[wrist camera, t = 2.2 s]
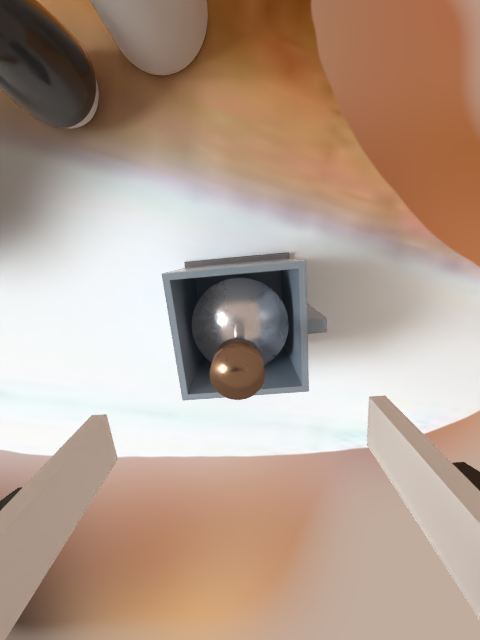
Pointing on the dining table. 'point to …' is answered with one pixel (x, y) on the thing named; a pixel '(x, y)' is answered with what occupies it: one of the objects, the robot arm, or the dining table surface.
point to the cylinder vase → (156, 31)
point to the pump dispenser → (45, 66)
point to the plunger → (239, 334)
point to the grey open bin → (270, 270)
